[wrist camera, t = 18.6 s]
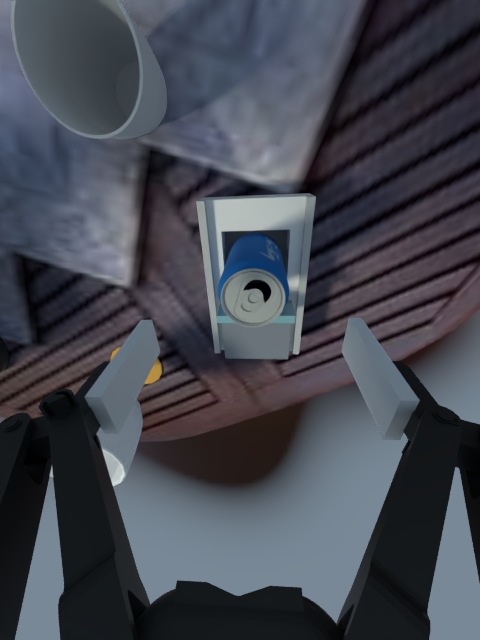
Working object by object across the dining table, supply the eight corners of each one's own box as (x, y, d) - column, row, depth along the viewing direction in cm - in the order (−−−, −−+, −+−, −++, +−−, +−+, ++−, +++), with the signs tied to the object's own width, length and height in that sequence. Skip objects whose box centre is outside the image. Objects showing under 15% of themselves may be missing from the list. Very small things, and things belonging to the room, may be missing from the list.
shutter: (225, 354, 36) (222, 373, 33) (220, 300, 32) (216, 315, 28) (287, 355, 36) (290, 374, 32) (291, 300, 31) (295, 315, 28)
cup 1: (121, 9, 21) (29, -97, 13) (199, 88, 23) (165, 43, 15) (87, 106, 25) (-2, 74, 16) (158, 165, 27) (112, 165, 19)
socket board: (218, 337, 39) (214, 353, 36) (203, 197, 28) (196, 201, 25) (295, 338, 38) (298, 354, 35) (309, 193, 27) (316, 196, 24)
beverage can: (291, 249, 31) (306, 290, 20) (262, 289, 34) (262, 342, 23) (247, 220, 29) (240, 248, 19) (221, 264, 32) (202, 309, 22)
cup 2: (150, 397, 48) (102, 497, 33) (93, 365, 44) (12, 463, 30) (182, 364, 42) (143, 465, 28) (121, 325, 39) (40, 419, 24)
